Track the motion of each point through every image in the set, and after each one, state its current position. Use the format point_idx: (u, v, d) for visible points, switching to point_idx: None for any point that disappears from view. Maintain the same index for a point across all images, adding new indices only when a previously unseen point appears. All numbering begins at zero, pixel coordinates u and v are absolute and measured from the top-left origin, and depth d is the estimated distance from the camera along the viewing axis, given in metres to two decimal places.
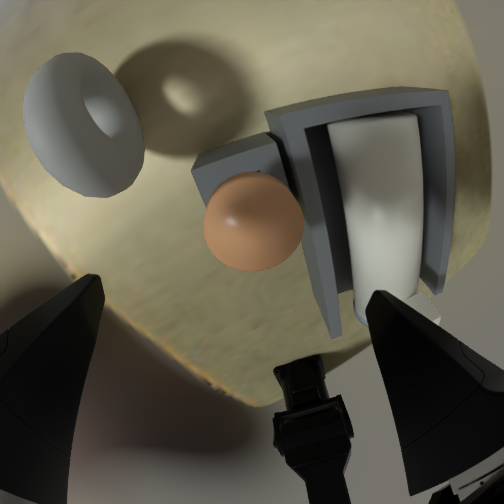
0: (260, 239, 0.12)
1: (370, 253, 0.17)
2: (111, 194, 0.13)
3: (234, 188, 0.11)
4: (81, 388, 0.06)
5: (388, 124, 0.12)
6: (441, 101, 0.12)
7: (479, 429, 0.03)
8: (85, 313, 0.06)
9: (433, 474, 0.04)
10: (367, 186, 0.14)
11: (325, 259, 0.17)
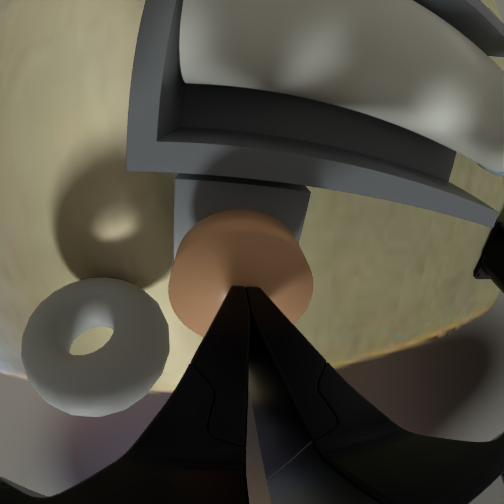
0: None
1: (428, 115, 0.07)
2: (158, 373, 0.12)
3: (173, 298, 0.08)
4: None
5: None
6: None
7: (317, 501, 0.03)
8: None
9: None
10: (306, 65, 0.06)
11: (394, 187, 0.09)
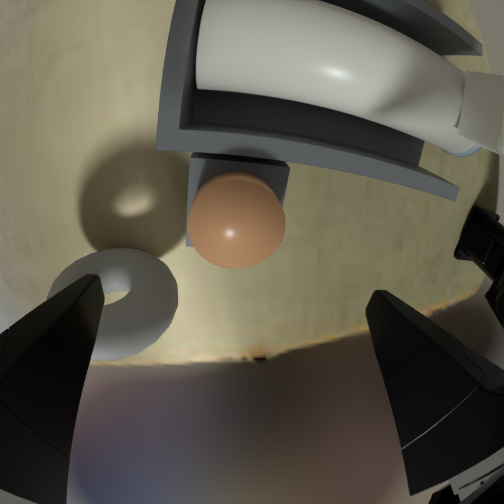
0: (249, 226, 0.12)
1: (378, 107, 0.10)
2: (168, 320, 0.15)
3: (190, 228, 0.12)
4: (81, 388, 0.06)
5: (200, 29, 0.08)
6: None
7: (480, 429, 0.03)
8: (85, 313, 0.06)
9: (433, 474, 0.04)
10: (281, 77, 0.09)
11: (354, 163, 0.12)
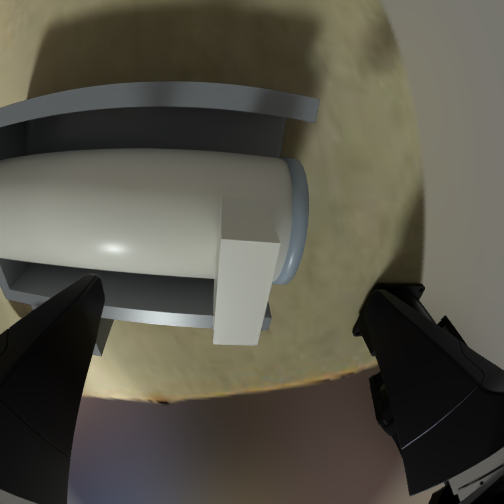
0: None
1: (114, 270, 0.12)
2: None
3: None
4: (81, 388, 0.06)
5: None
6: None
7: (479, 429, 0.03)
8: (85, 313, 0.06)
9: (433, 474, 0.04)
10: (35, 262, 0.11)
11: (117, 313, 0.13)
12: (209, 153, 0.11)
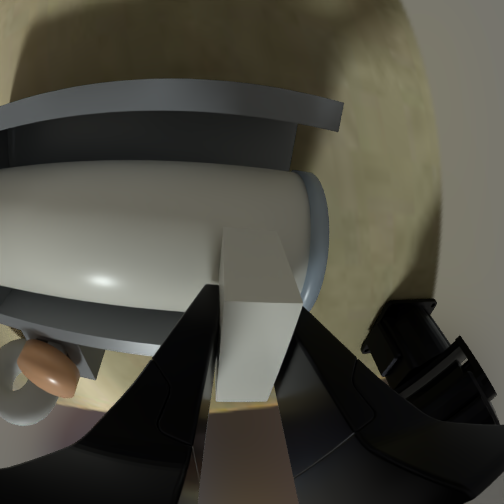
0: (50, 380, 0.11)
1: (102, 302, 0.10)
2: (48, 406, 0.15)
3: (23, 373, 0.11)
4: (209, 406, 0.06)
5: None
6: None
7: (358, 490, 0.03)
8: (218, 327, 0.07)
9: None
10: None
11: (108, 343, 0.12)
12: (208, 167, 0.09)
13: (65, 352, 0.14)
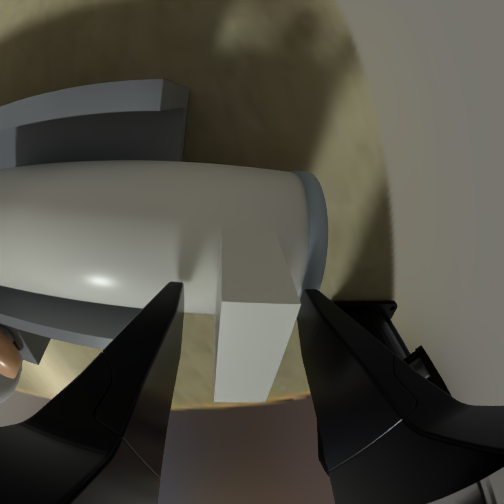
0: None
1: (101, 303, 0.10)
2: (7, 389, 0.14)
3: None
4: (170, 403, 0.06)
5: None
6: None
7: (404, 472, 0.03)
8: (178, 324, 0.07)
9: None
10: (16, 288, 0.09)
11: (29, 327, 0.11)
12: (207, 167, 0.09)
13: (12, 337, 0.13)
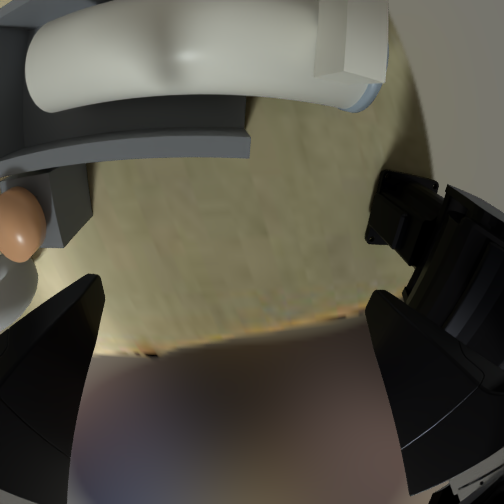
0: (13, 229, 0.11)
1: (194, 77, 0.09)
2: (15, 306, 0.14)
3: None
4: (81, 388, 0.06)
5: (26, 71, 0.07)
6: None
7: (479, 429, 0.03)
8: (85, 313, 0.06)
9: (433, 474, 0.04)
10: (89, 86, 0.09)
11: (78, 153, 0.11)
12: None
13: None
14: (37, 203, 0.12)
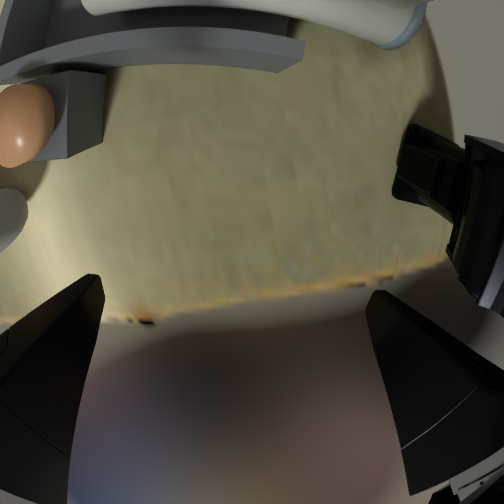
0: (16, 123, 0.08)
1: None
2: None
3: None
4: (81, 388, 0.06)
5: None
6: None
7: (479, 429, 0.03)
8: (85, 313, 0.06)
9: (433, 474, 0.04)
10: None
11: (114, 40, 0.08)
12: None
13: None
14: (50, 98, 0.09)
